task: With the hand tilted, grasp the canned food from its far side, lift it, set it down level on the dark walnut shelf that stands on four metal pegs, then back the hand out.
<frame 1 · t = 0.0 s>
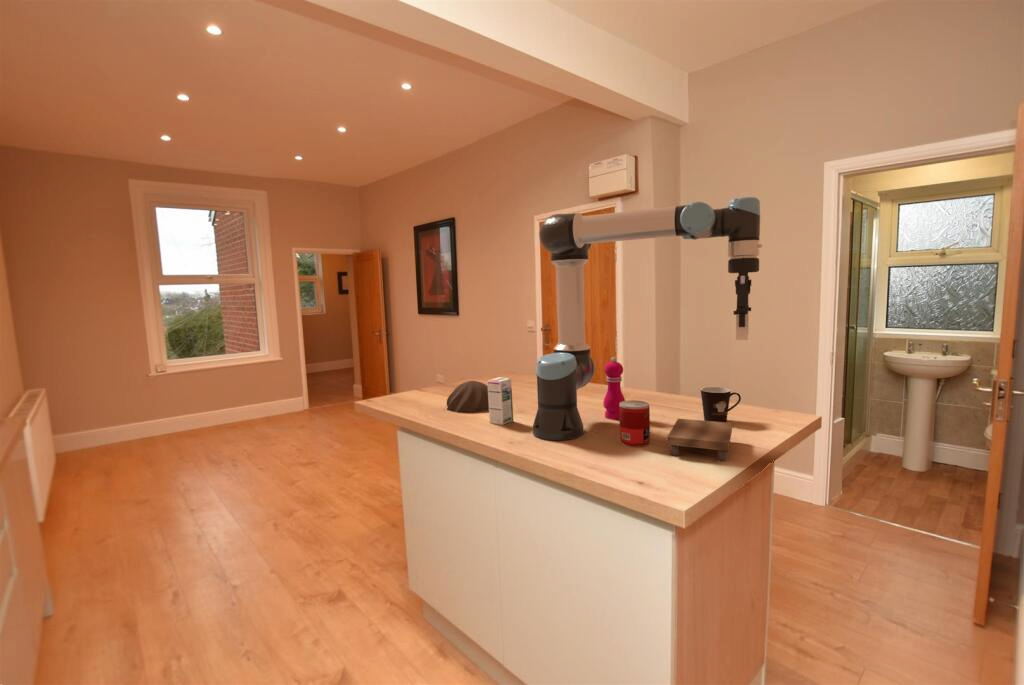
hand: (742, 337, 131), 28 cm above the table, tool pointing down, fingers open, 13 cm apart
pepper mill: (614, 417, 160), on the table
coffee mug: (720, 422, 150), on the table
syrup box: (501, 422, 159), on the table
canned food: (634, 443, 134), on the table
decorative dome: (472, 407, 183), on the table
walnut shelf: (700, 448, 127), on the table
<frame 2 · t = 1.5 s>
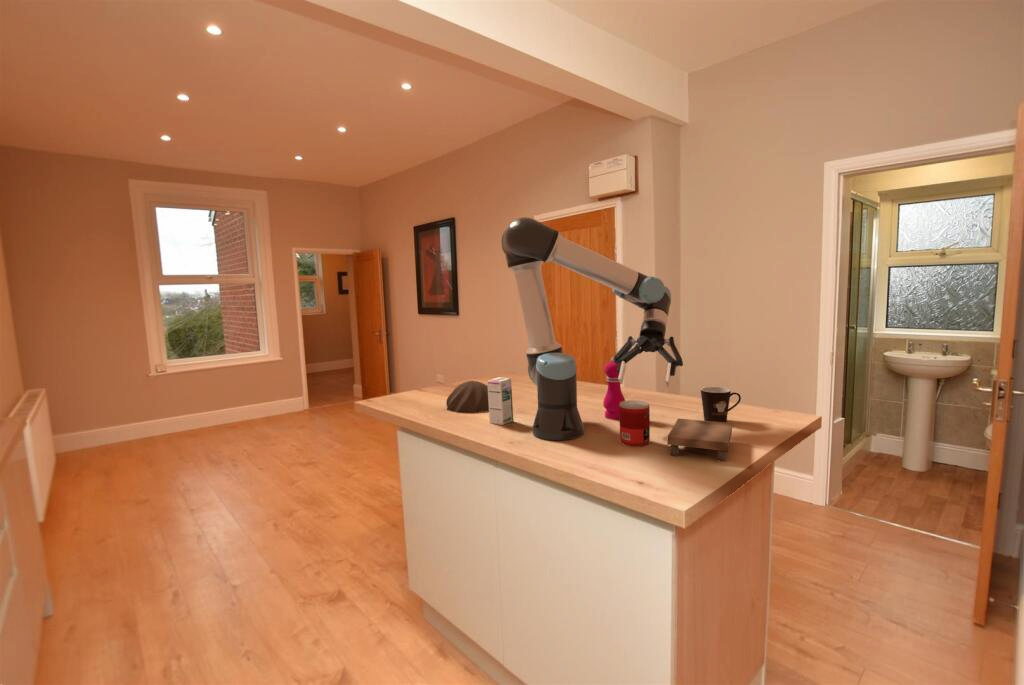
hand: (643, 382, 141), 15 cm above the table, tool tilted 45°, fingers open, 13 cm apart
nothing on the table moved.
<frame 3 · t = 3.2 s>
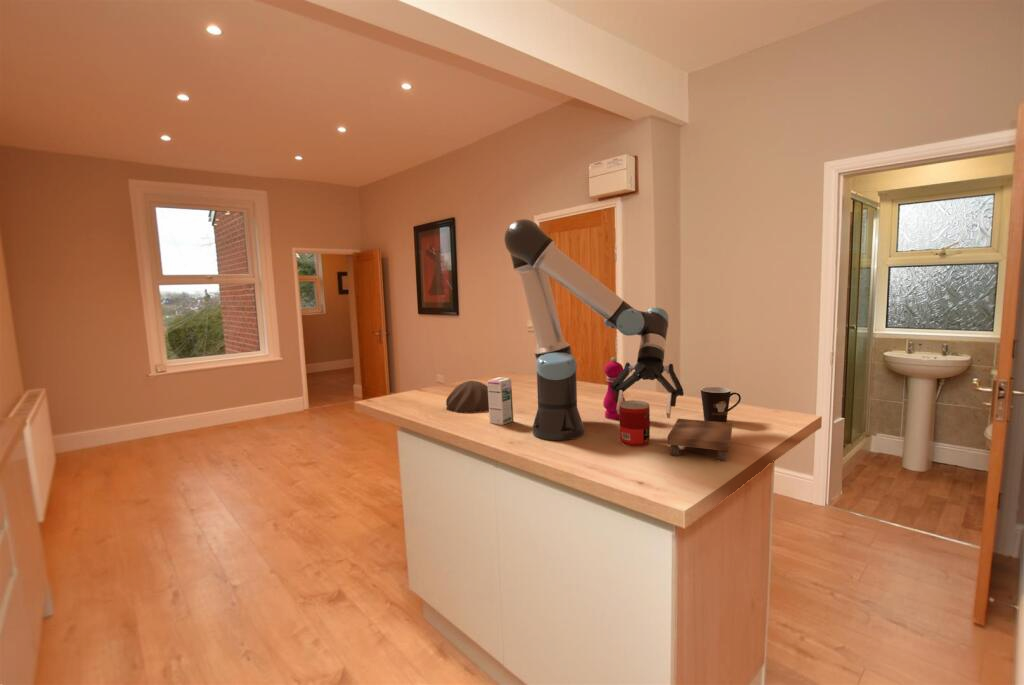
hand: (642, 414, 134), 7 cm above the table, tool tilted 45°, fingers open, 13 cm apart
nothing on the table moved.
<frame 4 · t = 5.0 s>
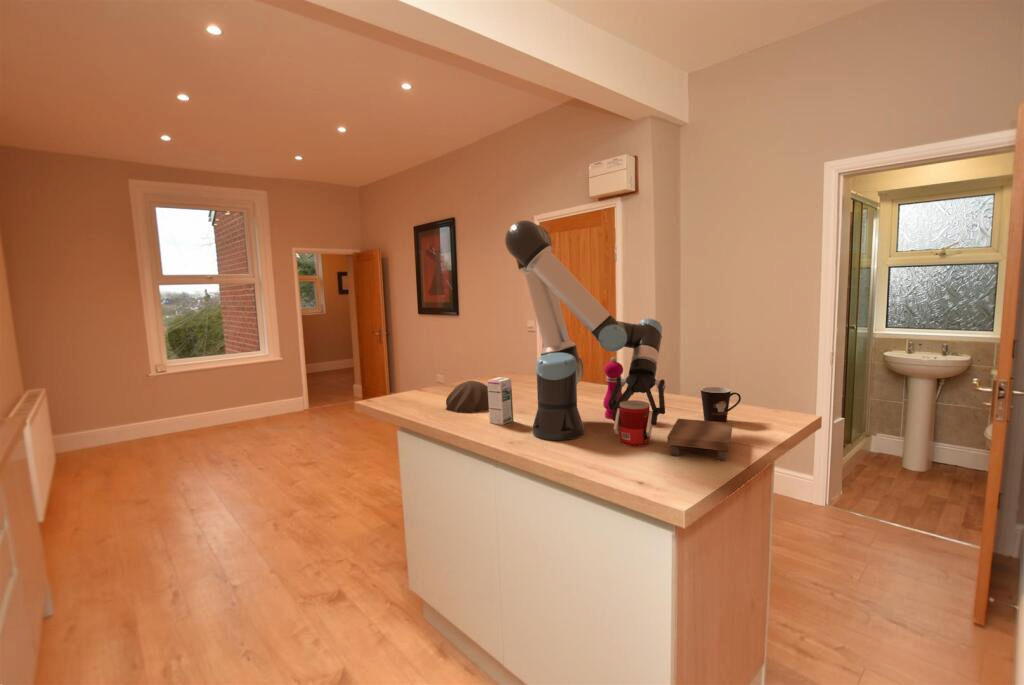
hand: (631, 432, 130), 4 cm above the table, tool tilted 45°, fingers closed on canned food, 8 cm apart
canned food: (634, 443, 134), on the table, touching gripper
everything else where it was.
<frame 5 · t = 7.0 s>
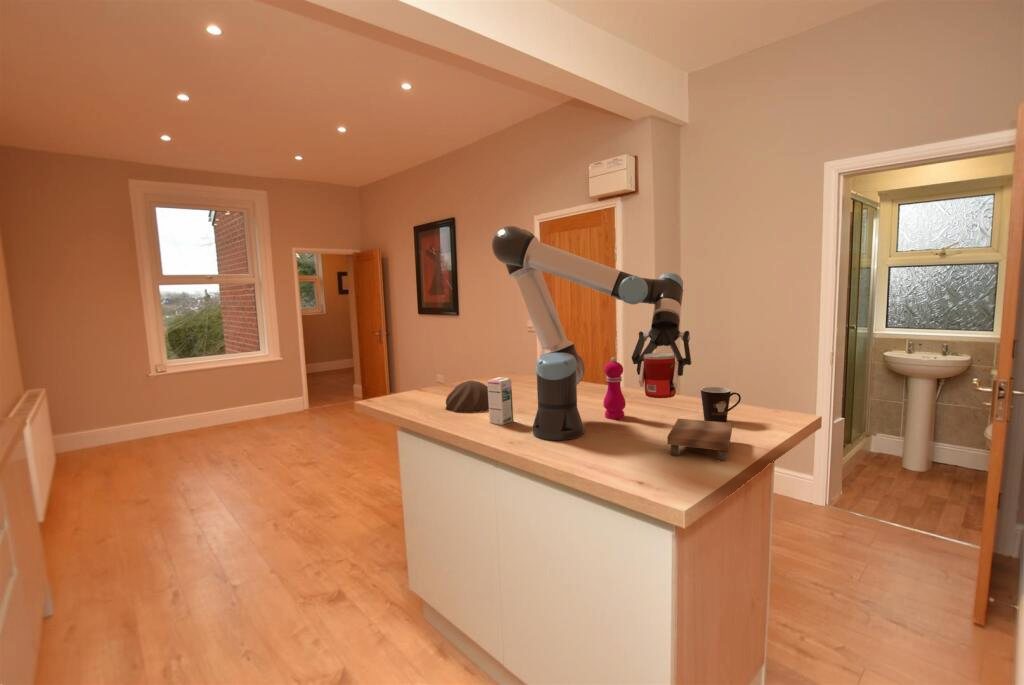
hand: (657, 384, 126), 17 cm above the table, tool tilted 45°, fingers closed on canned food, 8 cm apart
canned food: (660, 396, 130), point 13 cm above the table, touching gripper
everything else where it was.
when the fingers open (10 cm above the table, at t = 9.1 s): canned food drops 1 cm, resting on walnut shelf.
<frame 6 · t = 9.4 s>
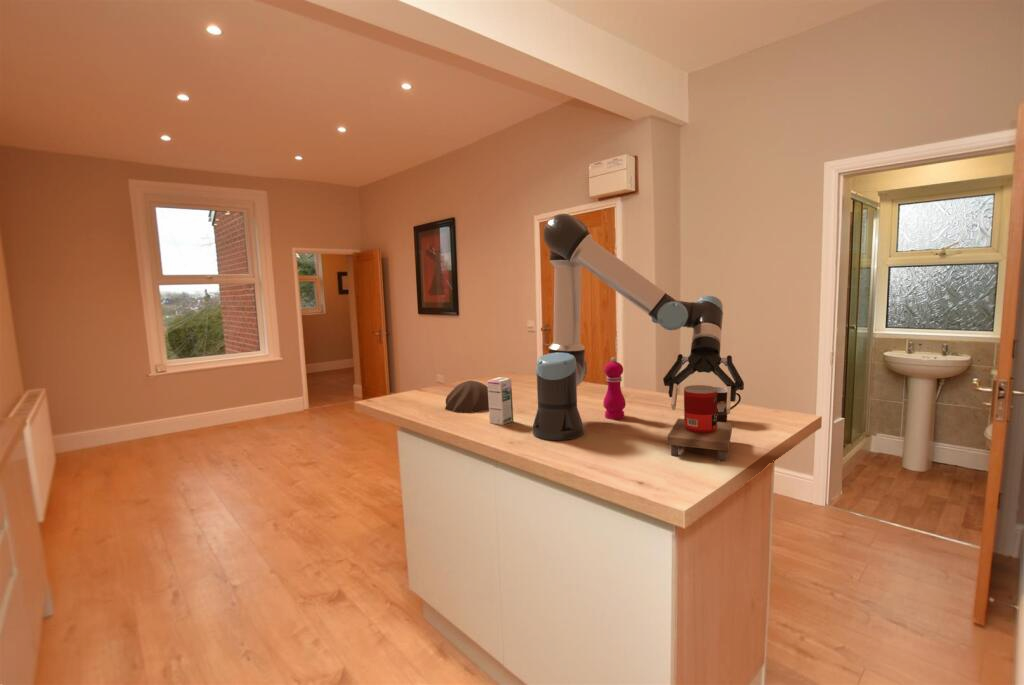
hand: (700, 409, 123), 11 cm above the table, tool tilted 45°, fingers open, 12 cm apart
canned food: (700, 430, 126), point 5 cm above the table, touching walnut shelf
everything else where it was.
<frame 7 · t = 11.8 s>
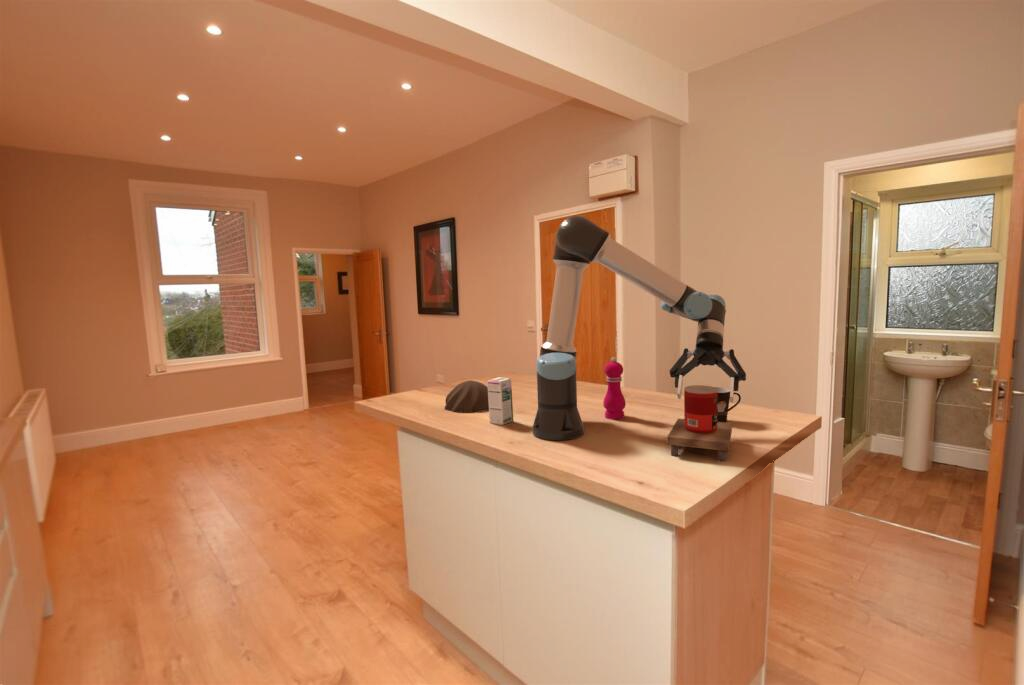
hand: (704, 398, 134), 11 cm above the table, tool tilted 45°, fingers open, 13 cm apart
nothing on the table moved.
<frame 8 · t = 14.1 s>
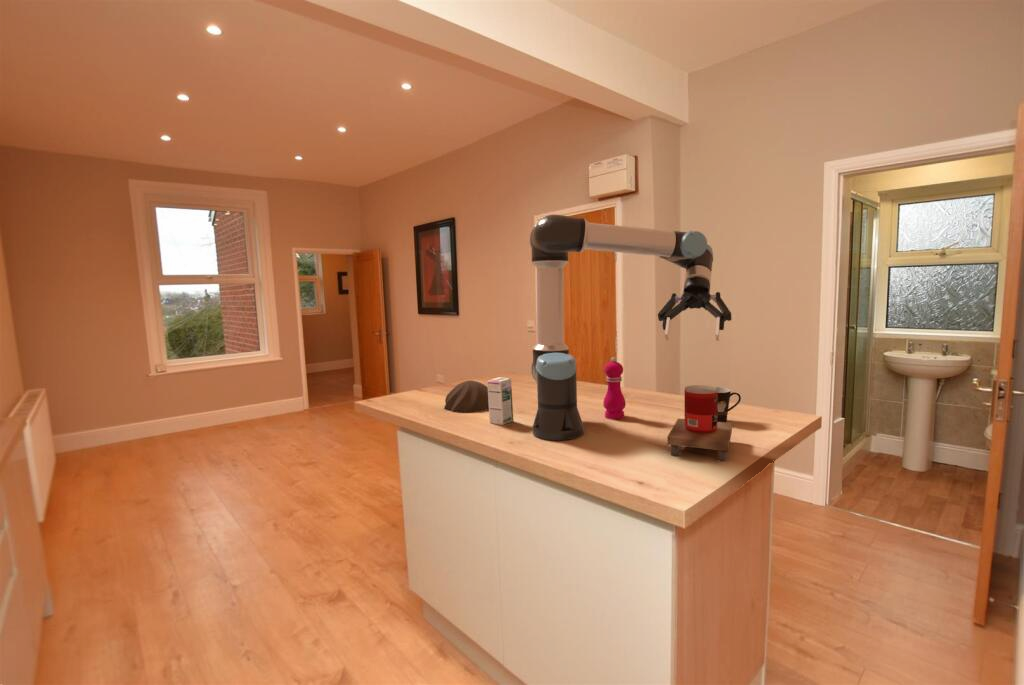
hand: (691, 337, 138), 28 cm above the table, tool tilted 45°, fingers open, 13 cm apart
at the end: canned food inside the target area on the walnut shelf (0.1 cm from its centre), point 4.8 cm above the walnut shelf's base; canned food tilted 0°; the gripper is holding nothing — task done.
